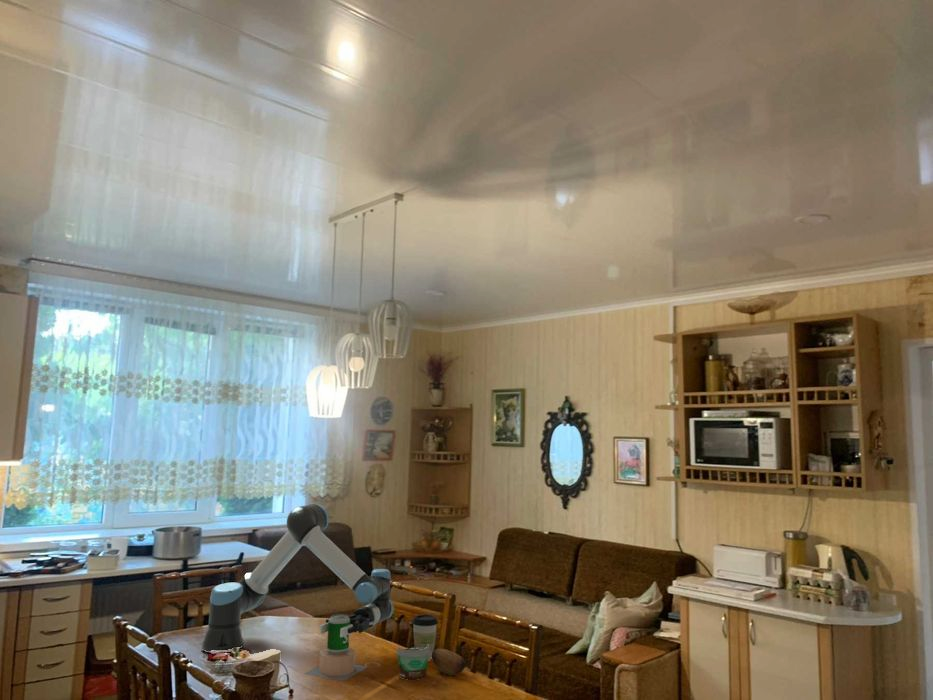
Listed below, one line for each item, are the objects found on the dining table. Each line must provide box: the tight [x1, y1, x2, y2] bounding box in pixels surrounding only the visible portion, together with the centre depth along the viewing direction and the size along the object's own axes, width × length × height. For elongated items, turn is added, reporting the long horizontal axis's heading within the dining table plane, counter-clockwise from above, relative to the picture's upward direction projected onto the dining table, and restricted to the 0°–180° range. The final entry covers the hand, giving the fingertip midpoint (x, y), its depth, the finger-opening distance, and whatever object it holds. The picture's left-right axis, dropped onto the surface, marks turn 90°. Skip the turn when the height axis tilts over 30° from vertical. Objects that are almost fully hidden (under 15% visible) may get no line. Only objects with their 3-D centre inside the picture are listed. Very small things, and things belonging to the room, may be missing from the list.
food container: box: [395, 644, 430, 681], centre depth 225 cm, size 12×6×10 cm, turn 118°
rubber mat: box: [303, 663, 369, 682], centre depth 228 cm, size 16×16×1 cm
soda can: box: [326, 613, 350, 654], centre depth 230 cm, size 8×8×12 cm
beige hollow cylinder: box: [318, 647, 356, 676], centre depth 229 cm, size 12×12×6 cm
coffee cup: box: [411, 614, 439, 662], centre depth 246 cm, size 10×10×15 cm
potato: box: [431, 647, 466, 676], centre depth 231 cm, size 8×14×8 cm
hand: (330, 631), depth 226 cm, fingers open, 8 cm apart
